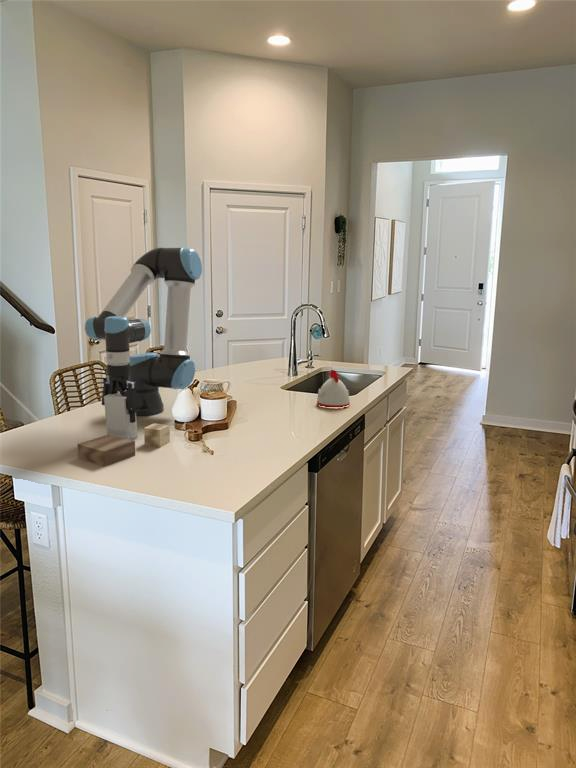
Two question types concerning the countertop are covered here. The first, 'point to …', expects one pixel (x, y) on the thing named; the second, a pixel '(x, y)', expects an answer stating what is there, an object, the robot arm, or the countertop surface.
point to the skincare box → (117, 416)
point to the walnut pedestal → (106, 450)
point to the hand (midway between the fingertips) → (121, 428)
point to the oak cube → (156, 435)
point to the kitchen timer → (333, 392)
